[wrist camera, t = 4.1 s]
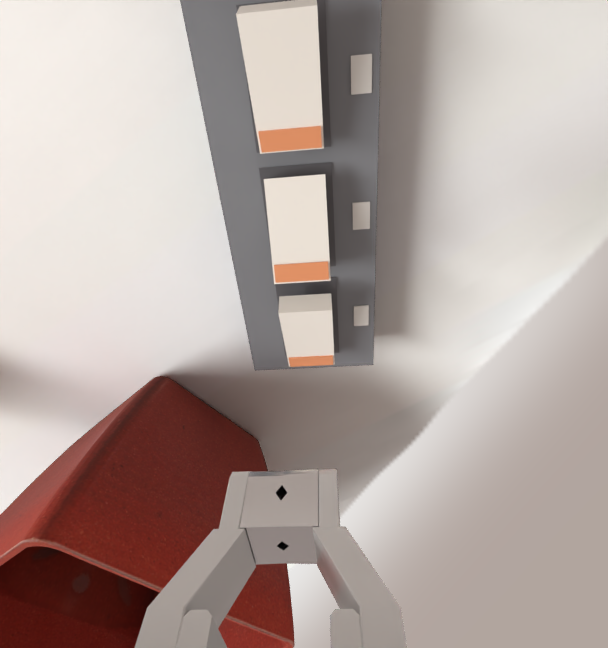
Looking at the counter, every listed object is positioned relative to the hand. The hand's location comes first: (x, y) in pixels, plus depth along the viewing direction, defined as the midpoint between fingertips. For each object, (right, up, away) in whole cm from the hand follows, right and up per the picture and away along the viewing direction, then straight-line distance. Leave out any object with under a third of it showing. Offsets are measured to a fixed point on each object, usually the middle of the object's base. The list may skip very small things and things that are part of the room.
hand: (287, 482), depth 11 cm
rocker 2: (0, +10, +11) cm, 14 cm away
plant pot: (-13, -7, +29) cm, 32 cm away
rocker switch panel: (0, +15, +13) cm, 20 cm away
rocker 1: (0, +16, +7) cm, 17 cm away
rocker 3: (+1, +4, +14) cm, 15 cm away
